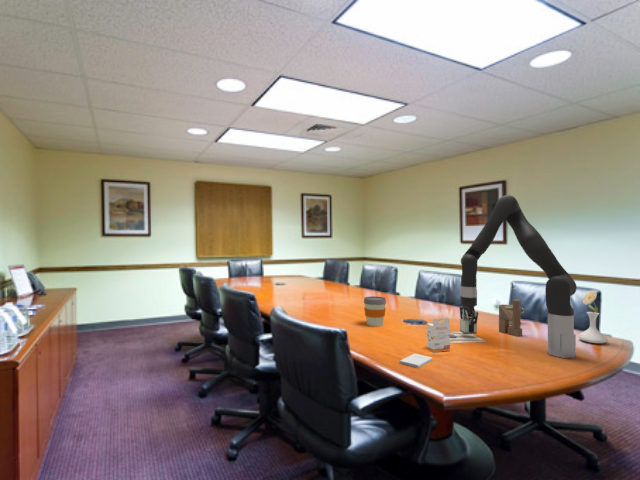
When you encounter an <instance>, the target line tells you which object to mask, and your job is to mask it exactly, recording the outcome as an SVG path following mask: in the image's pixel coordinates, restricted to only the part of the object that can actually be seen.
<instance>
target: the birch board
mask: <svg viewBox="0 0 640 480" xmlns="http://www.w3.org/2000/svg"><path fill="white" fill-rule="evenodd" d="M425 334H426V335H427V332H425ZM450 334H453V335H455V336H457V338H450V344H454V343H456V344H457V343H484V342H487V341H486V340H485V339H483V338H482V337H481V338H480V337H479V336H476V335H475V334H464V333H462V332H460V331H450Z"/></svg>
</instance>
